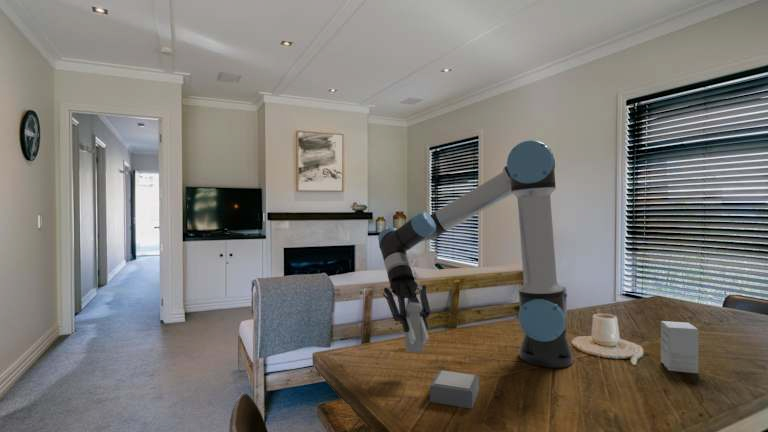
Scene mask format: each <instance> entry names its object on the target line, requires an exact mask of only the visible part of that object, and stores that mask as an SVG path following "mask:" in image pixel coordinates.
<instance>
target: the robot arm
mask: <svg viewBox="0 0 768 432" xmlns="http://www.w3.org/2000/svg"><path fill="white" fill-rule="evenodd" d="M555 168H556V161H555V157H554V154H553V151H552V149H551V148H550V147H549V146H548V145H547V144H545V143H544V142H541V141H538V140H532V139H531V140H530V139H529V140H525V141H524V140H523V141H520V142H519V143H518V144H516V145H515V146H514V147H513V148H512V149H511V150H510V152H509V154H508V155H507V160H506V166H503V168H502V171H501V173H499V174H497V175H495V176H494V177H492V178H490V179H489V180H487V181H485V182H483V183H482V184H480V185H478V186H476V187H475V188H473V189H471V190H470V191H468V192H467V193H465V194H463V195H462V196H460V197H458V198H457V199H455V200H453V201H452V202H449V203H448V204H446V205H444V206H443V207H442V208H439V209H438V210H436V211H434V212H433V213H431V214H429V213H427V212H425V211H420V212H419V213H418V214H417V215H414V216H413V217H412V218H411V219H408V221H406V222H405V223H403V224H402V225H401V226H399V227H398V228H397V227H388V228H386V229H385V228H384V229H383V230H381V231H380V233H379V234H378V237H377V239H378V244H379V245H378V247H379V249H380V252H381V255H382V259H383V263H384V266H385V270H386V274H387V279H388V282H389V287H385V288H383V293H382V296H383V297H384V298H385V299H386V302H387V304H388V307H389V310H390V313H391V316H392V319H393V320H394V322H399V323H400V324H401V325H402V328H403V332H405V333H406V332H408V336H409V339H410V343H411V344H414V342H415V340H416V338H415V334H414V331H413V328H412V324H411V322H410V319H409V318H408V315H407V311H406V302H405V301H406V299H408V301H409V303H419V304H421V306H422V311H421V312H420V319H421V327H422V338H423V342H424V343H425V344H426V343H427V342H428V340H429V338H430V337H429V334H428V331H427V330H428V327H429V324H428V321H427V319H428V318H429V317H430V315H431V312H432V311H431V309H430V305H429V300H428V296H427V295H428V294H427V285H425V284H423V285H418V282H417V281H416V280H415V277H414V272H413V269H412V268H411V264H410V260H409V258H408V255H407V252H408V251H410V249H412V248H414V247H415V246H416V245H418V244H420V243H421V242H425V241H430V240H436V239H437V238H439V237H441V236H442V234H444V233H446V232H447V231H449V230H451V229H452V228H453V229H454V228H455V227H457V226H458V225H460V224H462V223H463V222H465V221H467V220H469V219H471V218H472V217H474V216H477V215H478V214H480V213H482V212H483V211H485V210H487V209H489V208H490V207H492V206H494V205H496V204H497V203H499V202H501V201H503V200H504V199H506V198H508V197H510V196H512V195H514V196H515V197H516V198H517V209H518V222H519V223H518V225H519V234H520V235H519V238H520V247H521V248H520V251H521V260H522V261H521V262H522V276H523V277H522V278H523V284H521V286H520V287H519V288H518V297H519V299H518V300H519V311H518V317H517V319H518V323H519V326H520V328H521V330H522V332H523V333H524V336H523V338H522V341H521V344H520V347H519V358H520V359H521V360H522V361H524V362H525V363H528V364H531V365H534V366H537V367H544V368H550V369H551V368H552V369H554V368H556V369H560V368H566V367H570V366H571V365H572V364H573V363H574V362H573V360H574V359H573V357H574V356H573V352H572V349H571V346H570V343H569V340H568V337H567V298H568V292H567V288H566V286H564V285H561V284H559V283H558V280H557V268H556V266H557V265H556V253H555V240H554V229H553V228H554V226H553V216H552V215H553V214H552V201H551V200H552V199H551V194H553V192H554V191H555V190H556V189H557V187H556V174H555V170H556V169H555ZM416 291H417V292H418V294H419V299H420V301H419V299H418V297H417V293H416ZM393 294H394V295H395V296H396V297H397V302H398V306H397V304H396V301H395V297H394V296H393ZM398 308H399V309H398Z"/></svg>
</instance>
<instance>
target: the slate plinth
mask: <svg viewBox="0 0 768 432" xmlns="http://www.w3.org/2000/svg"><path fill="white" fill-rule="evenodd" d="M479 378H480V377H479V375H478V374H477V375H476V374H471V373H465V372H458V371H456V372H455V371H450V370H449V371H448V370H443V369H442V370H441V369H439V370H438V372H437V373H436V375H435V376H434V378H433V380H432V382H431V383H430V384H429V402H431V403H434V404H435V403H436V404H441V405H448V406H453V407H459V408H463V409H464V408H466V409H469V410H470V409H473V408H474V405H475V403H476V400H477V397H478V394H479V385H480V384H479V383H480V381H479Z"/></svg>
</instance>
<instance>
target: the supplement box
mask: <svg viewBox="0 0 768 432" xmlns="http://www.w3.org/2000/svg"><path fill="white" fill-rule="evenodd" d="M699 330H700V329H698V328H697V327H696V326H695V325H693V324H691V323H690V322H683V321H682V322H681V321H668V320H666V321H665V320H661V321H660V362H661V364H662V363H663V364H664V365H663V364H662V365H663V366H664V367H665V368H666V369H667V371H669V372H679V373H680V372H681V373H688V374H689V373H690V374H699Z"/></svg>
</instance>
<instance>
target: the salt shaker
mask: <svg viewBox="0 0 768 432" xmlns="http://www.w3.org/2000/svg"><path fill="white" fill-rule="evenodd" d="M419 303H420V302H419ZM419 303H411V302H409V303H407V304H406V305H405V307H406V313H408V315H407V318H409V319H410V322H411V324H412V328H413V331H414V334H415V338H416V340H415V342H414V344H411V343H410V339H409V336H408V332H405V333H404V334H405V335H404V340H403V343H404V346H405V348H406V350H407V351H408V352H409V353H415V354H416V353H420V352H423V350H424V348H425V344H426V343H424V342H423V338H422V327H421V319H420V312H421V311H422V309H423V308H422V304H421V303H420V304H419Z"/></svg>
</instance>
